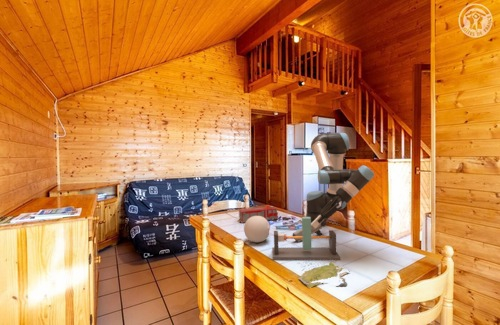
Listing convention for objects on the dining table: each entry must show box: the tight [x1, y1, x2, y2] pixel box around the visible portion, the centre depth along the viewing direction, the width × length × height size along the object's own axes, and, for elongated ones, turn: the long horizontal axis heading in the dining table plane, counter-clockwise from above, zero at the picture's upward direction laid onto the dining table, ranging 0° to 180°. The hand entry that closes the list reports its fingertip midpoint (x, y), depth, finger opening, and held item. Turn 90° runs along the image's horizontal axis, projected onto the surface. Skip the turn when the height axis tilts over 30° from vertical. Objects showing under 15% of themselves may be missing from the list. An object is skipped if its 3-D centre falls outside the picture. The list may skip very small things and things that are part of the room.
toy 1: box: [238, 205, 279, 224], centre depth 189 cm, size 10×30×10 cm, turn 105°
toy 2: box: [243, 216, 271, 243], centre depth 143 cm, size 15×15×15 cm
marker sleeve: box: [301, 216, 312, 250], centre depth 122 cm, size 4×3×16 cm
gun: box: [292, 220, 325, 243], centre depth 146 cm, size 2×25×10 cm, turn 121°
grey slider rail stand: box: [271, 229, 341, 261], centre depth 122 cm, size 32×12×12 cm, turn 85°
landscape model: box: [298, 261, 351, 289], centre depth 99 cm, size 24×15×2 cm, turn 123°
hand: (313, 226), depth 122 cm, fingers closed
